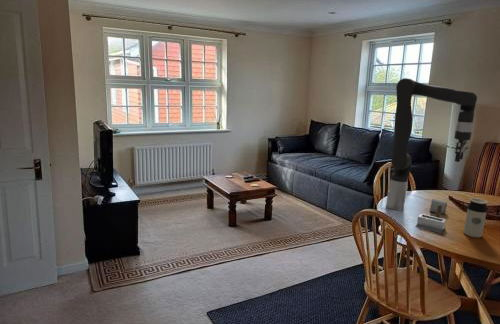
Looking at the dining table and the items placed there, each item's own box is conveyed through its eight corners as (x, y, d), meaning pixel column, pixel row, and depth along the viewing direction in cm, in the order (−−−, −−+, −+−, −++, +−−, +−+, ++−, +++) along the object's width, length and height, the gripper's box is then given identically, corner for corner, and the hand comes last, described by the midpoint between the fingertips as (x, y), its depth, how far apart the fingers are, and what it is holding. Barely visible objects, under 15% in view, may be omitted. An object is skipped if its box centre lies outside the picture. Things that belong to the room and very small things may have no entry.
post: (435, 220, 198) (437, 205, 196) (435, 219, 199) (438, 204, 197) (439, 221, 196) (441, 206, 194) (439, 220, 198) (442, 205, 196)
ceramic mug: (445, 215, 206) (447, 202, 204) (429, 213, 209) (431, 200, 208) (445, 210, 215) (447, 198, 213) (429, 207, 218) (431, 195, 217)
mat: (415, 226, 189) (415, 225, 189) (420, 220, 197) (420, 220, 197) (440, 232, 182) (440, 232, 182) (444, 226, 189) (445, 226, 189)
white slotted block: (417, 224, 190) (418, 216, 189) (419, 221, 195) (421, 213, 194) (442, 230, 183) (443, 222, 182) (444, 227, 188) (445, 219, 187)
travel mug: (464, 229, 187) (470, 196, 182) (482, 234, 182) (489, 200, 178) (461, 234, 181) (468, 200, 176) (480, 239, 176) (487, 204, 172)
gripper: (458, 128, 199) (453, 157, 202) (453, 130, 188) (448, 161, 192) (473, 130, 194) (468, 159, 198) (469, 132, 183) (464, 163, 187)
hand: (458, 160), depth 195 cm, fingers open, 8 cm apart
